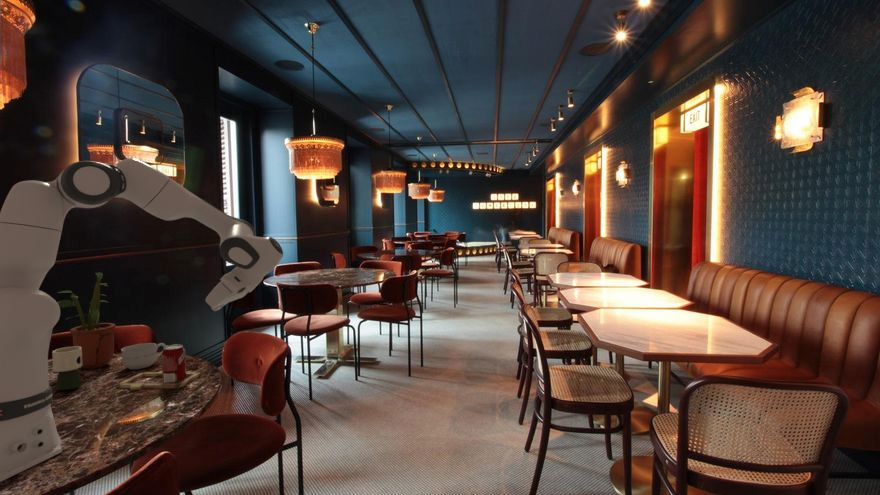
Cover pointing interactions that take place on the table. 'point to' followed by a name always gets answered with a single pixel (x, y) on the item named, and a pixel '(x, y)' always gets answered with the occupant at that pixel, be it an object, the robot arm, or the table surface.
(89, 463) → the table surface
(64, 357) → the character mug
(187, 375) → the wooden rectangular frame
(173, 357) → the soda can
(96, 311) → the potted plant
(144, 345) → the teacup
